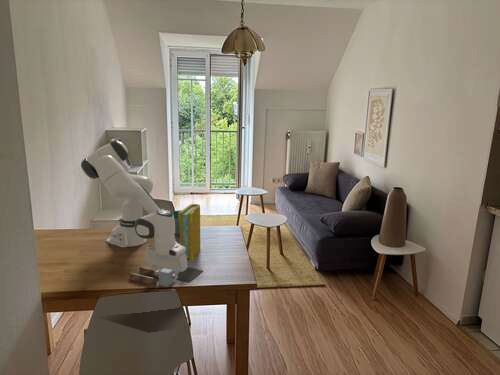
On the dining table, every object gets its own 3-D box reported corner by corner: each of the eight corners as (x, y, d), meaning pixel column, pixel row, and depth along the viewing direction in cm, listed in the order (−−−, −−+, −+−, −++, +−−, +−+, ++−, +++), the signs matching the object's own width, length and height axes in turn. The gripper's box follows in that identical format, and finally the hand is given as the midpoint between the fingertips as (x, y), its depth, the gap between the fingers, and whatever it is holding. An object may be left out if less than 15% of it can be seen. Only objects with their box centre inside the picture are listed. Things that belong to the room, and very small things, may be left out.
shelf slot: (129, 279, 169) (129, 273, 168) (140, 272, 176) (140, 266, 175) (155, 285, 163) (155, 279, 163) (165, 277, 171) (165, 271, 170)
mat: (167, 277, 172) (167, 276, 171) (181, 266, 182) (181, 265, 182) (189, 282, 167) (189, 281, 167) (203, 271, 178) (203, 270, 178)
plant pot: (169, 240, 216) (168, 219, 213) (167, 229, 233) (166, 210, 230) (200, 237, 221) (200, 217, 218) (196, 227, 238) (196, 209, 235)
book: (191, 260, 190) (191, 213, 184) (179, 259, 191) (178, 212, 185) (202, 248, 206) (202, 204, 200) (191, 246, 207) (190, 203, 201)
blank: (158, 284, 165) (158, 272, 163) (165, 279, 169) (165, 267, 168) (167, 286, 163) (167, 274, 161) (173, 281, 167) (173, 269, 166)
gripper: (140, 245, 162) (142, 274, 166) (181, 253, 155) (181, 284, 158) (150, 240, 168) (151, 269, 171) (189, 248, 161) (189, 278, 164)
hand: (166, 276), depth 164 cm, fingers open, 8 cm apart
